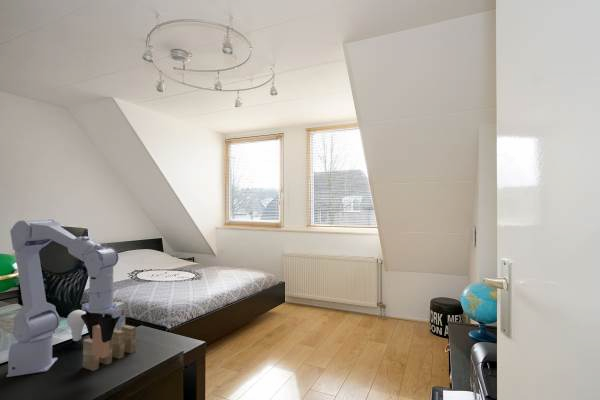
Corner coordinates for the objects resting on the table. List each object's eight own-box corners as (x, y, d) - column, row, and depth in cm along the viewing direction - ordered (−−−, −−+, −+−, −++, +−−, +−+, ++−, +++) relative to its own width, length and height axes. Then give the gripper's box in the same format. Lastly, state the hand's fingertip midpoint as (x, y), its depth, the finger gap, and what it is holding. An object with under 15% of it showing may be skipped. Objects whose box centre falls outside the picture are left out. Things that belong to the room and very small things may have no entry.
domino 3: (106, 364, 94) (107, 338, 94) (96, 361, 96) (96, 335, 96) (111, 362, 95) (112, 336, 96) (101, 359, 98) (102, 333, 98)
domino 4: (119, 358, 98) (119, 333, 98) (109, 355, 100) (109, 330, 100) (124, 356, 99) (124, 331, 99) (113, 353, 101) (114, 328, 101)
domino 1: (93, 370, 90) (93, 343, 91) (82, 367, 93) (83, 340, 93) (98, 368, 92) (99, 341, 92) (88, 364, 94) (88, 338, 94)
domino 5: (130, 353, 101) (131, 328, 101) (120, 350, 103) (121, 326, 104) (135, 351, 103) (135, 327, 103) (125, 348, 105) (125, 324, 105)
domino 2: (103, 358, 86) (103, 329, 86) (92, 354, 88) (92, 326, 88) (109, 355, 87) (109, 327, 87) (97, 352, 89) (98, 324, 90)
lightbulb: (75, 337, 114) (75, 307, 114) (91, 337, 114) (91, 307, 114) (61, 344, 108) (62, 313, 108) (78, 344, 108) (79, 313, 108)
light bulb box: (103, 341, 111) (104, 310, 111) (87, 339, 112) (88, 309, 113) (126, 329, 121) (126, 302, 122) (111, 328, 123) (111, 301, 123)
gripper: (131, 290, 89) (130, 338, 88) (99, 285, 95) (98, 330, 94) (107, 296, 82) (106, 348, 82) (74, 290, 88) (73, 339, 88)
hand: (100, 339), depth 88 cm, fingers closed on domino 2, 5 cm apart
